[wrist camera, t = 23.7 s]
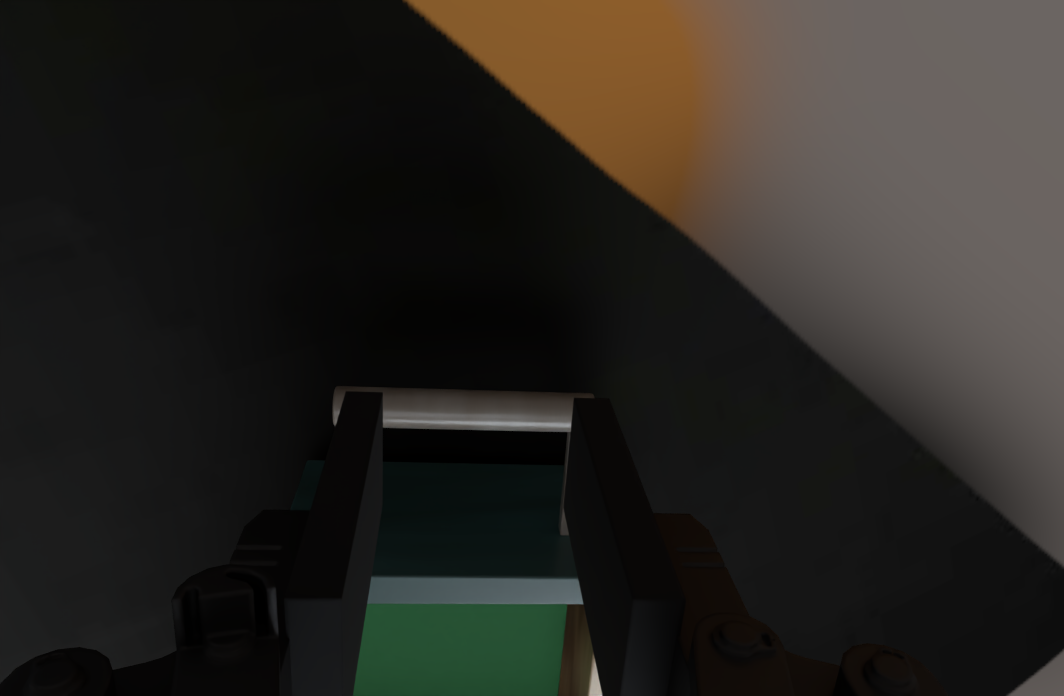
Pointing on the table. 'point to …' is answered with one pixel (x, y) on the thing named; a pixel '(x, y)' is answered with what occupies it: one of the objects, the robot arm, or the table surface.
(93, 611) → the table surface
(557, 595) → the drawer
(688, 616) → the robot arm
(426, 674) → the sponge
